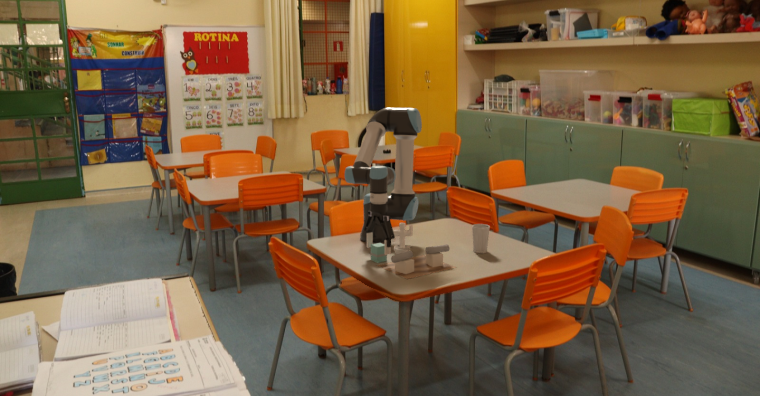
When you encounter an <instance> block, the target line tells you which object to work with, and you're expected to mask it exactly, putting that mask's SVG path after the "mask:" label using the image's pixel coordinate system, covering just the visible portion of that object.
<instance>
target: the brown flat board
mask: <svg viewBox="0 0 760 396" xmlns="http://www.w3.org/2000/svg"><path fill="white" fill-rule="evenodd" d="M410 259H413V260H414V272H411V273H408V274H403V273H400V272H397V271H395V263H393V262H392V261H389V262H385V263H380V264H377V265H375V266H376V267H379V268H381V269H383V270H386V271H388V272H389V273H393V274H395V275H396V276H400V277H401V278H403V279H406V280H411V279H414V278H418V277H422V276H427V275H431V274H432V275H433V274H435V273H439V272H443V271H448V270H452V269H456V268H457V266H454V265H453V264H452V265H451V264H449V263H446V262H444V261H443V266H437V267H431V266H430V265H428V264H426V254H422V255H418V256H413V257H412V258H410Z"/></svg>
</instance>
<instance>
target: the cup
mask: <svg viewBox="0 0 760 396" xmlns="http://www.w3.org/2000/svg"><path fill="white" fill-rule="evenodd" d="M471 228H472V231H471V232H472V246H473V247H472V248H473V249H472V252H473V253H477V254H485V253H486V254H487V253H488V243H489V238H490V237H489V235H490V228H491V226H490V225H488V224H484V223H476V224H472V225H471Z"/></svg>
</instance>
